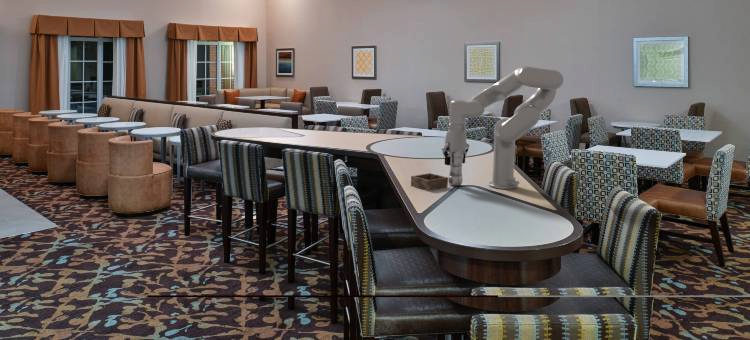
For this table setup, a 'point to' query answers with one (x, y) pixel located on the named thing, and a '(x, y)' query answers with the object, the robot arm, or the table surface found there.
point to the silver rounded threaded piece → (456, 168)
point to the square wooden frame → (429, 181)
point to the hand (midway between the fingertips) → (454, 163)
